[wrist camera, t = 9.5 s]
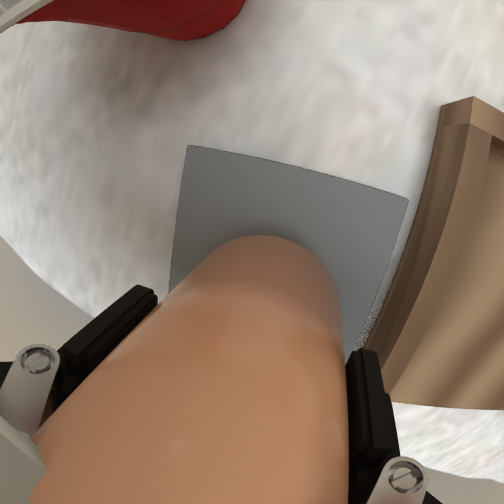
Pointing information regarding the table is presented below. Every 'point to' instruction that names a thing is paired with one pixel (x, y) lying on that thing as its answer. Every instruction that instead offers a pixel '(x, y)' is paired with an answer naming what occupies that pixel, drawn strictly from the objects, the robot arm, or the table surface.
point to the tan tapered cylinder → (214, 393)
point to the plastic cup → (128, 15)
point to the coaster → (289, 222)
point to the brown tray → (451, 273)
